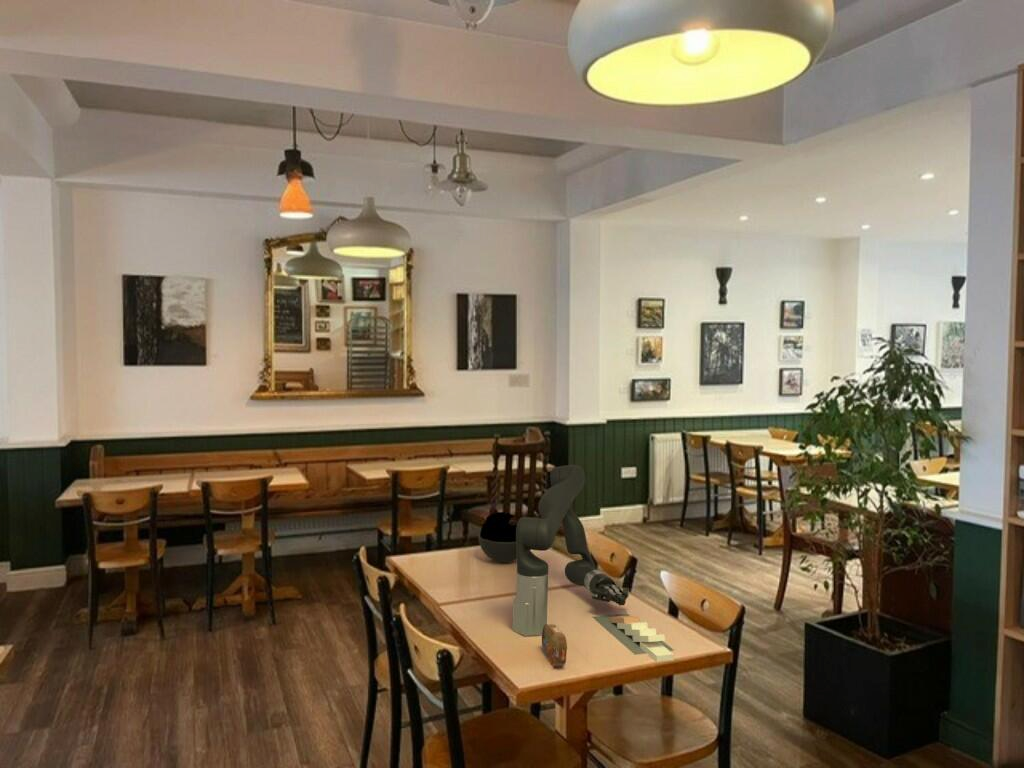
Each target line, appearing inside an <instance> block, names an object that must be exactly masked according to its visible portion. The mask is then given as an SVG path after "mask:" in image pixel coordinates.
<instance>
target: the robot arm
mask: <svg viewBox="0 0 1024 768" xmlns="http://www.w3.org/2000/svg"><path fill="white" fill-rule="evenodd" d="M549 476H550V477H549V478H550V485H551V487H549V488H548V489H547V490H545V492H544V493H543V495H542V496H541V498H540V500H538V501H539V502H538V506H537V508H538V512H539V515H540V517H541V518H539V517H529V516H522V517H520V518H519V519H518V521H517V524H516V525H517V527H516V552H517V557H516V560H515V561H516V585H515V586H516V587H515V588H516V590H515V592H516V593H515V597H514V598H513V601H512V631H514V632H515V633H517V634H519V635H521V636H524V637H527V636H533V637H534V636H540V635H541V636H542V631H543V627H544V625H545V624H548V598H549V597H548V594H549V591H548V590H549V564H548V562H546V560H545V559H544V560H543V559H542V558H539V557H538V556H536V555H535V554H534V553H533V552H532V551H538V552H539V551H548V550H550V548H552V546H553V544H554V542H555V539H556V536H557V533H558V531H559V528H560V526H561V525H562V528H563V533H564V541H565V546H566V550H567V552H568V554H570V555H580V557H581V559H577V560H573V561H572V560H571V561H569V562H568V563H567V564H566V565H565V567H564V574H565V576H566V579H567V580H568V582H570V583H572V584H573V585H577V586H581V587H584V588H585V589H587V590H588V592H589V593H590V594H591V599H592V600H596V601H601V602H605V603H609V602H612V603H615V604H616V605H618V606H621V607H622V606H625V605H626V601H627V599H628V598H629V596H630V588H629V587H623V588H621V587H620V586H618V585H617V584H616V582H615V581H614V580H613V578H612V577H610V576H608V575H607V574H606V573H604V572H602V571H600V570H599V569H597V568H596V564H595V562H594V559H593V557H592V556H591V553H590V551H589V548H588V543H587V538H586V536H587V535H586V531H585V527H584V525H583V523H582V521H581V519H580V518H579V517H578V516H577V514H575V512H574V510H573V509H572V508H571V505H572V503H573V501H574V500H575V498H576V497H577V496H578V495H579V493H580V492H581V491H582V490H583V488H584V485H585V480H586V475H585V471H584V469H583V468H582V467H581V466H580V465H578V464H568V465H567V464H566V465H560V466H555V467H553V468H552V469H551V471H550V474H549Z"/></svg>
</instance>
